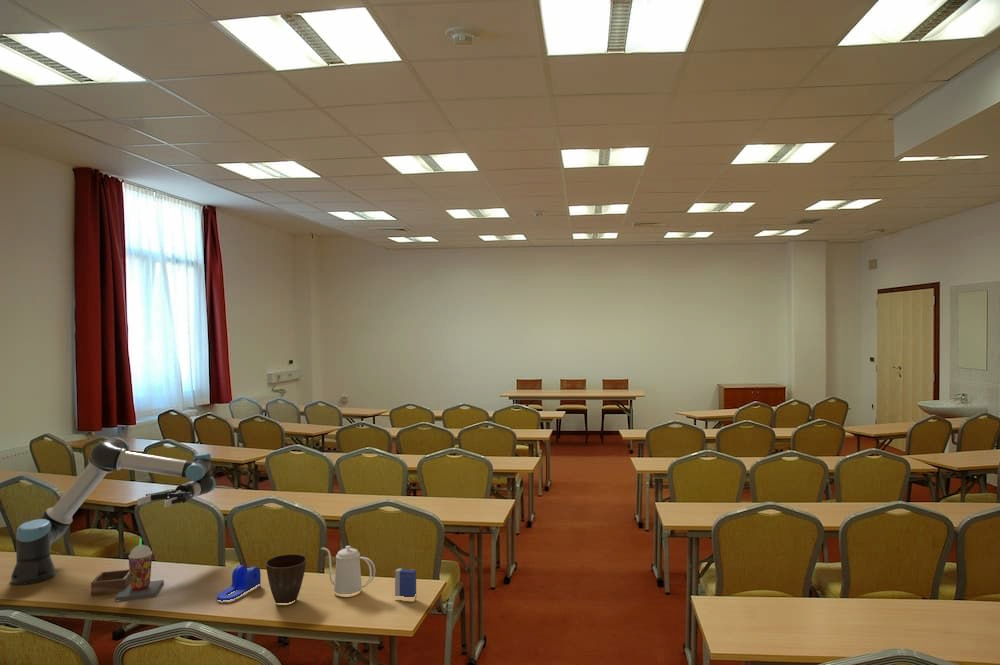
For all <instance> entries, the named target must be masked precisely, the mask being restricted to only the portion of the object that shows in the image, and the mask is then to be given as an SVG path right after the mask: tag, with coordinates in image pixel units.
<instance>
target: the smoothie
mask: <svg viewBox="0 0 1000 665" xmlns="http://www.w3.org/2000/svg"><path fill="white" fill-rule="evenodd" d="M142 540H143V538H142V537H140V538H139V544H138V545H136V546H135V547H133V549H131V551H130V552H129V555H128V565H129V566H128V567H129V568H128V569H129V570H130V586H131V588H132V590H134V591H140V590H144V589H146V588H148V586H149V584H150V581H151V574H152V563H153V562H152V560H153V551H152V550H151V548H150V547H149V545H145V544H142Z"/></svg>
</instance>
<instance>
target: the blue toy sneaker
mask: <svg viewBox="0 0 1000 665" xmlns="http://www.w3.org/2000/svg"><path fill="white" fill-rule="evenodd" d="M261 574H262V573H261V569H260V568H259V567H257V566H250V567H249V568H248V567H247V566H246V565H243V564H242V565H237V566H236V567H235V568H234V569H233V571H232V575H231V585H230V586H229V587H227V588H226V589H224V590H222V591H220V592H218V593H217V594H216V601H217V600H221V601H223V600H230V599H234V598H236V597H238V596H240V595H241V594H243V593H244V592H246V591H248V590H250V589H251V588H253V587H255V586H256V585H258V584H260V585H261V580H262V579H261ZM236 590H237V591H236ZM233 591H235V592H234V593H232V594H230V593H231V592H233ZM228 594H230V595H228Z"/></svg>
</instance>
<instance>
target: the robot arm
mask: <svg viewBox="0 0 1000 665" xmlns="http://www.w3.org/2000/svg"><path fill="white" fill-rule="evenodd" d="M87 460H88V464H87V465H86V466H85V468H84V470H82V471H81V473H80V474H79V475H78V477H76V479H75V480H74V482H73V483H72V484H71V485H70V487H69V488H68V489H67V490H66V491H65V492H64V494H63V495H62V496H61V498H60V499H59V500H58V501H57V502H56V503H55V505H54V506H53V507H48V508H47V509H45V511H44V512H43V513H42V515H41V516H40V518H38V519H33V520H32V519H31V520H29V521H26V522H23V523H21V524H20V525H18V527H17V529H16V534H15V537H16V552H15V553H16V554H15V555H16V556H15V557H16V563H15V565H14V568H13V570H12V573H11V575H10V583H11V582H12V583H11V584H13V583H15V584H14V585H25V584H24V583H31V584H35V583H34V582H36V583H40V582H43V581H46V580H48V578H49V579H51V578H53V577H54V576H55V575H56V567H55V565H54V562H53V560H52V556H51V547H52V546H51V545H52V544H53V543H54V542H56V541H58V540H59V539H60V538H62V537H63V536H64V535H65V534H66V532H67V530H68V528H69V526H70V525H71V524H72V523H73V516H74V514H75V513H76V512H77V511H78V509H79V508H80V507H81V506H82V505H83V503H84V502H85V501H86V500H87V499H88V497H89V496H90V495H91V494H92V492H93V491H94V490H95V488H96V487H97V486H98V485H99V484H100V483H101V481H102V480H103V479H104V478H105V476H106V475H107V474H109V473H113V472H114V471H120V470H122V469H125V470H130V471H132V470H133V471H136V472H137V471H138V472H144V473H153V474H158V475H163V476H164V475H165V476H173V477H176V478H177V477H178V478H184V479H187V480H188V482H185V483H182V484H179V485H177V486H176V488H175V489H172V490H169V489H166V490H163V491H157V492H152V493H146V494H145V496H142V497H140V498H137V506H141V505H144V504H148V503H149V504H150V502H152V501H158V500H164V499H165V500H164V501H163V506H164V508H168V507H171V506H173V505H176V504H181V503H182V504H185V503H187V502H188V501H189V500H194V498H196V497H199V496H202V495H205V494H208V493H210V492H213V490H215V488H216V487H217V486H216V485H217V482H216V479H215V478H214V477H213V476H212V473H211V472H212V455H211V453H209V452H198V453H195V454H193V460H192V461H191V460H185V459H178V458H172V457H165V456H159V455H155V454H154V455H153V454H148V453H147V454H146V453H140V452H135V451H130V446H129V444H128V442H127V441H126V440H125V439H123V438H121V437H116V436H115V437H109V438H107V439H105V440H103V441H101V442H98V443H97V444H95V445H94V446H93V447H92V449H91V450H90V453H89V458H88V459H87ZM53 575H54V576H53ZM52 576H53V577H52ZM50 577H51V578H50ZM45 579H46V580H45ZM42 580H43V581H42ZM39 581H40V582H39Z"/></svg>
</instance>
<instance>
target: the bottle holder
mask: <svg viewBox="0 0 1000 665" xmlns="http://www.w3.org/2000/svg"><path fill="white" fill-rule="evenodd" d="M129 583H130V570H129V568H128V569H118V570H108V571H107V570H106V571H101V572H100V573H99V574H98V575H97V576H96V577H95V578H94V579H93V580H92V581H91V582H90V596H97V595H98V596H99V595H108V593H110V594H117V593H116V592H120V591H121V589H122V588H126V586H127V585H128V584H129Z"/></svg>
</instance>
